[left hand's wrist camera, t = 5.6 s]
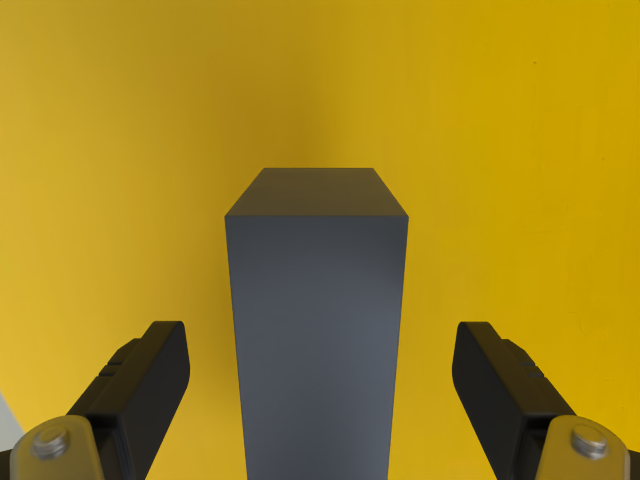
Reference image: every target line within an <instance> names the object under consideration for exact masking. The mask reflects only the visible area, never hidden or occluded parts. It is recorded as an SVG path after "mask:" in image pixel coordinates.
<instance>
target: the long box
mask: <svg viewBox="0 0 640 480" xmlns="http://www.w3.org/2000/svg"><path fill="white" fill-rule="evenodd" d="M408 221H409V217H408V215H407V214H406V212H405V211H404V209H403V208H402V207H401V205H400V204H399V203H398V201H397V200H396V199H395V197H394V196H393V195H392V193H391V192H390V190H389V189H388V188H387V186H386V185H385V184H384V182H383V181H382V180H381V178H380V177H379V175H378V174H377V173H376V171H375V170H374V169H373V168H264V169H263V170H262V171H261V172H260V174H259V175H258V176H257V177H256V178H255V180H254V181H253V182H252V183H251V185H250V186H249V187H248V188H247V189H246V191H245V192H244V193H243V194H242V196H241V197H240V198H239V199H238V201H237V202H236V203H235V204H234V205H233V207H232V208H231V209H230V210H229V212H228V213H227V214H226V215H225V228H226V239H227V251H228V262H229V274H230V285H231V297H232V308H233V320H234V331H235V343H236V354H237V366H238V377H239V389H240V400H241V412H242V423H243V435H244V446H245V458H246V469H247V480H387V477H388V465H389V453H390V441H391V428H392V416H393V404H394V392H395V380H396V367H397V355H398V343H399V331H400V318H401V306H402V294H403V282H404V270H405V257H406V245H407V233H408Z"/></svg>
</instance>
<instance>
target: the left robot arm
mask: <svg viewBox="0 0 640 480" xmlns="http://www.w3.org/2000/svg"><path fill="white" fill-rule="evenodd" d="M189 377H190V363H189V355H188V348H187V341H186V334H185V327H184V324H183V322H182V321H154V322H153V323H152V324H151V325H150V327H149V328H148V330H147V331H146V332H145V334H144V335H143V336H142V338H134V339H133V340H131V341H130V342H128V343H127V344H125V345H124V346H122V347H121V348H120V349H118V350H117V351H116V353H115V354H114V355H113V356H112V358H111V359H110V360H109V361H108V364H107V365H105V366H104V368H103V369H102V370H101V371H100V373H99V376H96V378H95V379H94V380H93V381H92V383H91V384H90V385H89V386H88V388H87V389H86V390H85V391H84V393H83V394H82V395H81V397H80V398H79V399H78V400H77V402H76V403H75V404H74V405H73V407H72V408H71V409H70V410H69V412H68V413H67V414H66V415H65V416H60V417H56V418H53V419H51V420H48V421H46V422H44V423H42V424H40V425H38V426H36V427H35V428H33V429H31V430H30V431H29V432H27V433H26V434H25V435H24V436H23V437H22V438H21V439H20V440H19V441H18V442H17V443H16V444H15V446H14V448H13V449H10V450H7V451H2V452H0V480H145V478H146V476H147V474H148V472H149V469H150V467H151V465H152V463H153V461H154V459H155V456H156V454H157V452H158V450H159V448H160V445H161V443H162V441H163V439H164V437H165V434H166V432H167V430H168V428H169V426H170V424H171V421H172V419H173V417H174V415H175V413H176V410H177V408H178V406H179V404H180V402H181V399H182V397H183V395H184V393H185V391H186V388H187V386H188V382H189ZM452 377H453V383H454V387H455V389H456V391H457V394H458V396H459V398H460V400H461V402H462V404H463V407H464V409H465V411H466V413H467V415H468V417H469V420H470V422H471V424H472V426H473V428H474V430H475V433H476V435H477V437H478V439H479V441H480V443H481V445H482V448H483V450H484V452H485V454H486V456H487V458H488V461H489V463H490V465H491V467H492V469H493V471H494V474H495V476H496V478H497V480H640V453H639V452H635V451H631V450H628V449H627V448H626V446H625V444H624V443H623V442H622V441H621V440H620V439H619V438H618V437H617V436H616V435H615V434H614V433H613V432H611V431H610V430H609V429H607V428H605V427H604V426H602V425H600V424H598V423H596V422H594V421H592V420H589V419H587V418H584V417H580V416H577V415H576V414H575V412H574V411H573V410H572V409H571V407H570V406H569V405H568V404H567V402H566V401H565V400H564V399H563V398H562V396H561V395H560V394H559V393H558V391H557V390H556V389H555V388H554V386H553V385H552V384H551V383H550V381H549V380H548V379H547V378H546V377H544V374H543V373H542V371H541V370H540V369H539V368H538V366H535V363H534V362H533V360H532V359H531V358H530V357H529V355H528V354H527V353H526V352H525V350H523V349H522V348H520V347H519V346H517V345H516V344H514V343H513V342H512V341H510V340H509V339H501V338H500V336H499V335H498V334H497V332H496V331H495V330H494V328H493V327H492V326H491V324H490V323H488V322H460V323H459V325H458V328H457V335H456V342H455V349H454V356H453V363H452Z"/></svg>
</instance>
